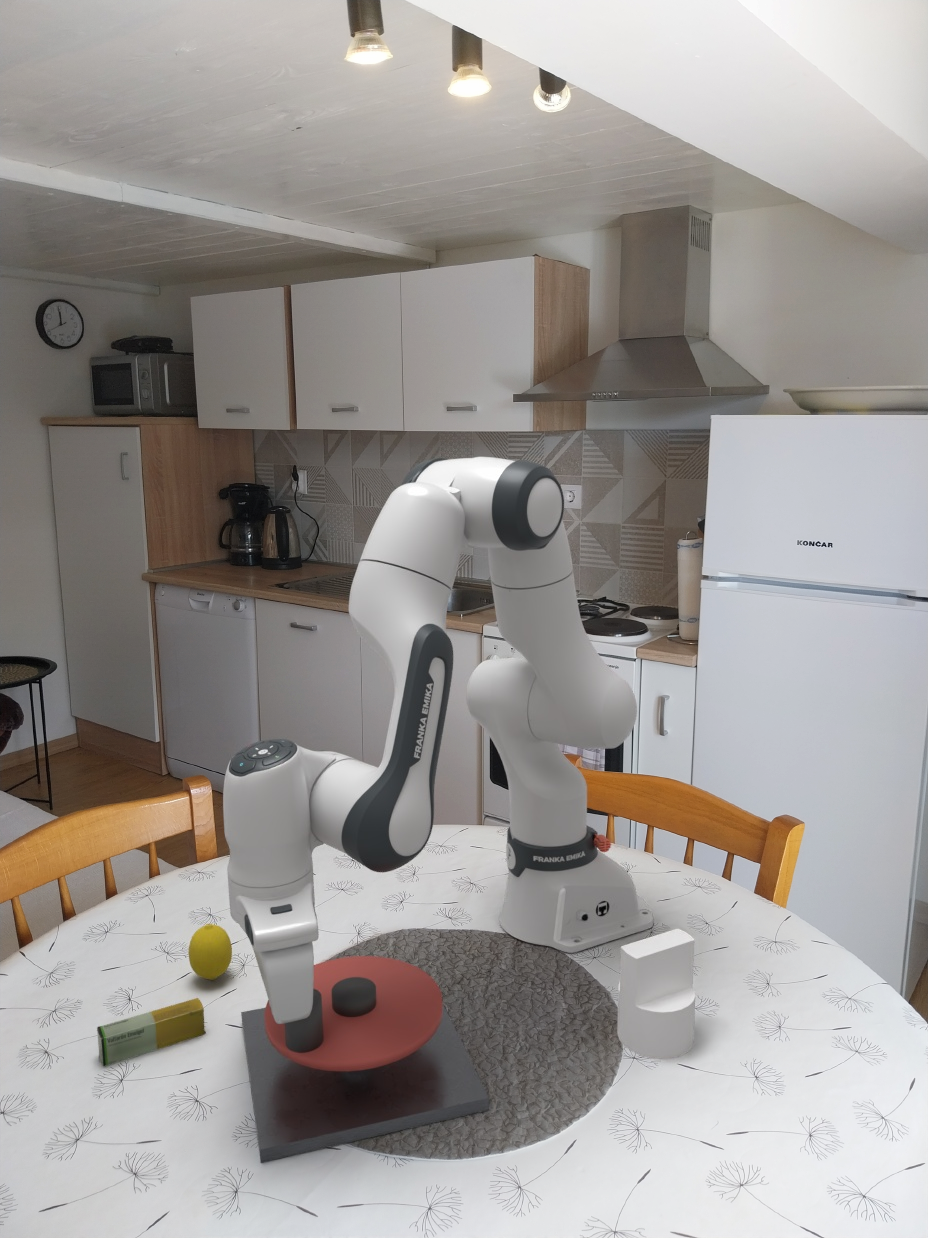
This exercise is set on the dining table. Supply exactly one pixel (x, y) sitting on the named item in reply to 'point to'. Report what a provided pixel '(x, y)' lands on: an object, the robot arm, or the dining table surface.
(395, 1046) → the handwheel
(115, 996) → the dining table surface
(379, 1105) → the valve stand
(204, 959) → the lemon
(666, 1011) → the base with upright slab
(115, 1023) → the medication box
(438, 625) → the robot arm
